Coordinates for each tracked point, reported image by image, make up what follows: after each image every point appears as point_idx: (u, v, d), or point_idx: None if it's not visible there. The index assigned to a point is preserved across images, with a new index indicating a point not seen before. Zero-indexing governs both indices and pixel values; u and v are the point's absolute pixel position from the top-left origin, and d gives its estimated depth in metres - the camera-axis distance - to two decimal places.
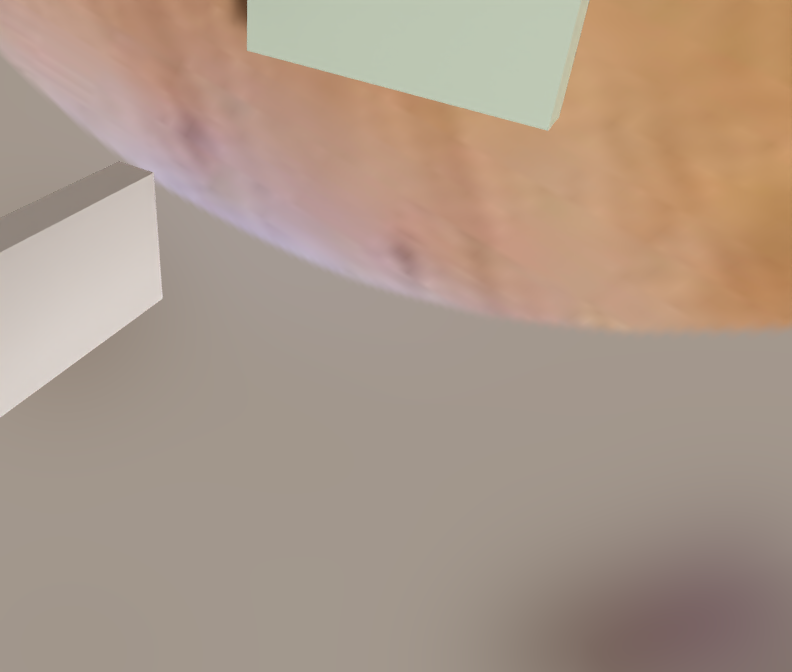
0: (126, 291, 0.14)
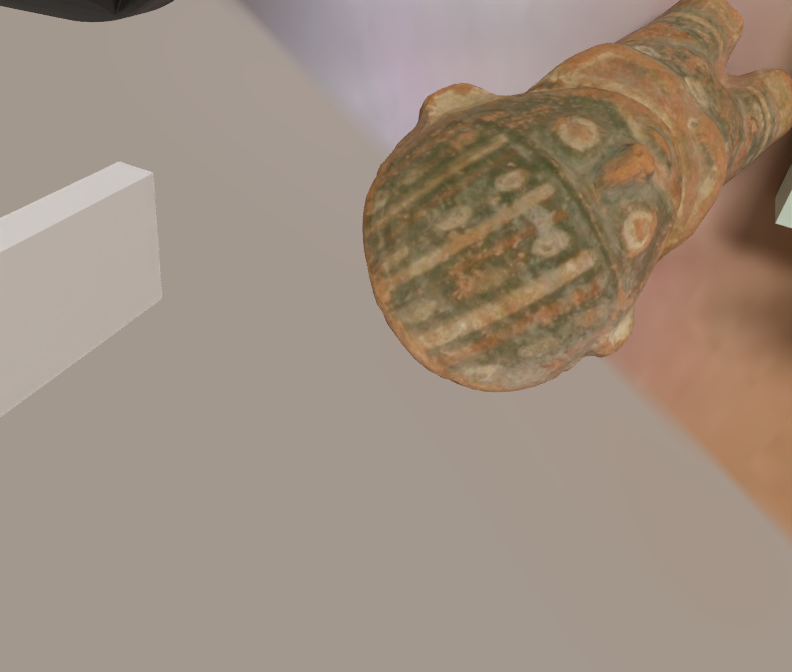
0: (126, 291, 0.14)
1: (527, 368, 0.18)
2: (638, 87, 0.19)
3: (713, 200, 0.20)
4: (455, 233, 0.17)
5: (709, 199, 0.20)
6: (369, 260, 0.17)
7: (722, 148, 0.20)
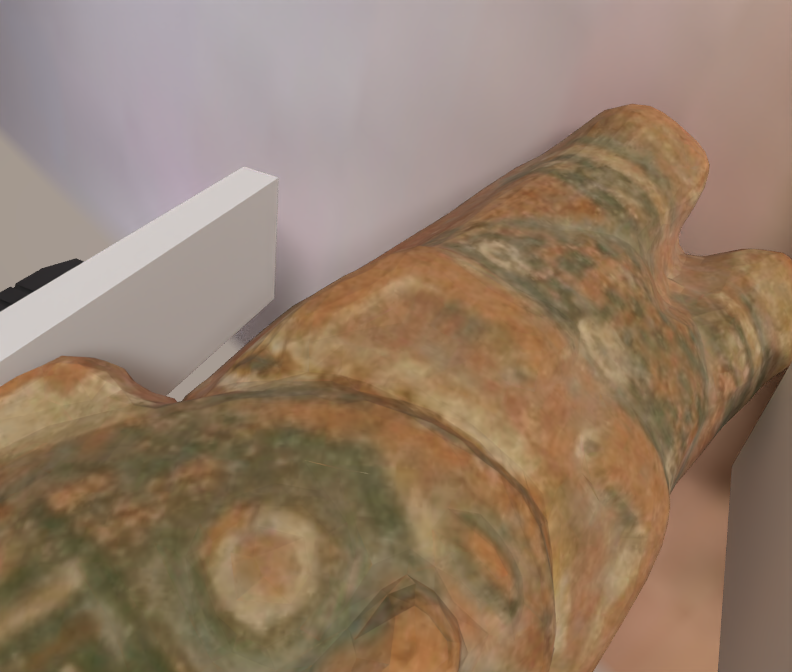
0: (248, 292, 0.14)
1: None
2: (464, 369, 0.09)
3: (639, 590, 0.09)
4: None
5: (630, 595, 0.09)
6: None
7: (656, 483, 0.09)
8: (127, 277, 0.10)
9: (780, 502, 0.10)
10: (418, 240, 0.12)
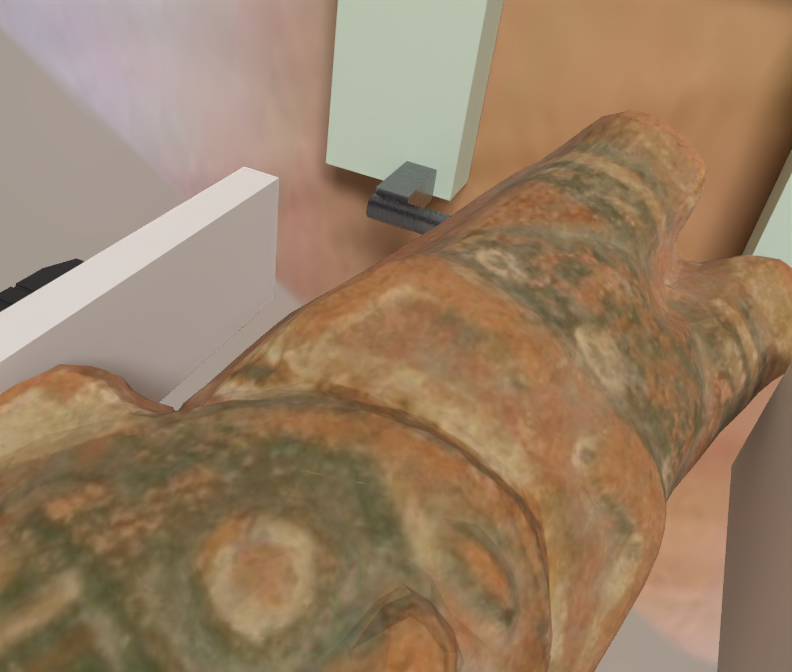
0: (249, 292, 0.14)
1: None
2: (461, 377, 0.09)
3: (636, 597, 0.09)
4: None
5: (627, 602, 0.09)
6: None
7: (652, 491, 0.09)
8: (127, 277, 0.10)
9: (779, 502, 0.10)
10: (416, 247, 0.12)
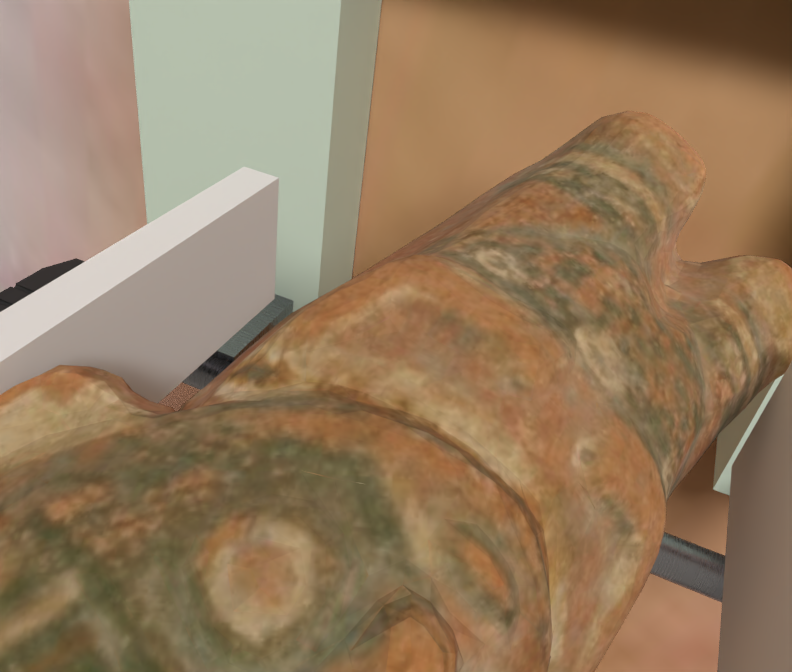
0: (249, 292, 0.14)
1: None
2: (461, 378, 0.09)
3: (636, 598, 0.09)
4: None
5: (627, 603, 0.09)
6: None
7: (652, 492, 0.09)
8: (127, 277, 0.10)
9: (779, 502, 0.10)
10: (416, 247, 0.12)
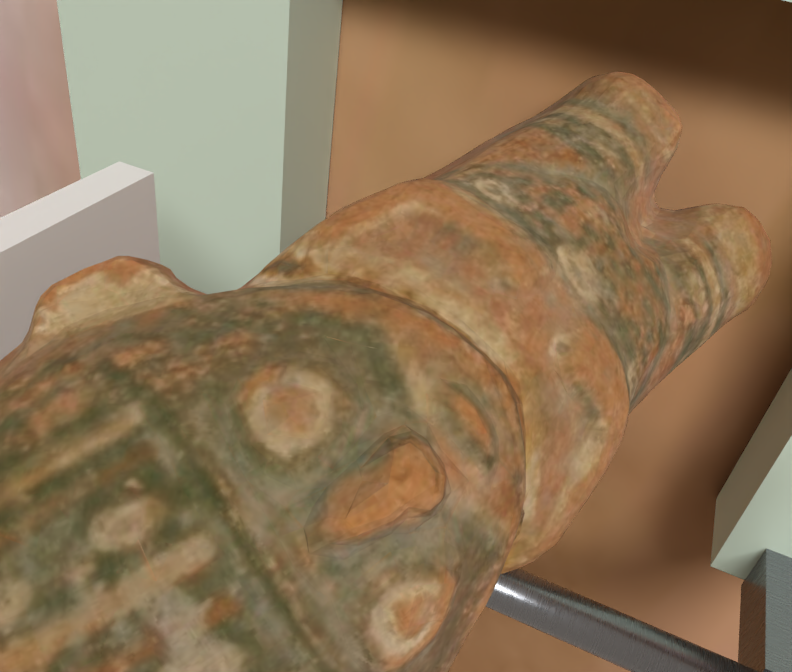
0: None
1: None
2: (458, 277, 0.10)
3: (600, 476, 0.11)
4: None
5: (592, 478, 0.11)
6: None
7: (617, 385, 0.11)
8: None
9: None
10: None
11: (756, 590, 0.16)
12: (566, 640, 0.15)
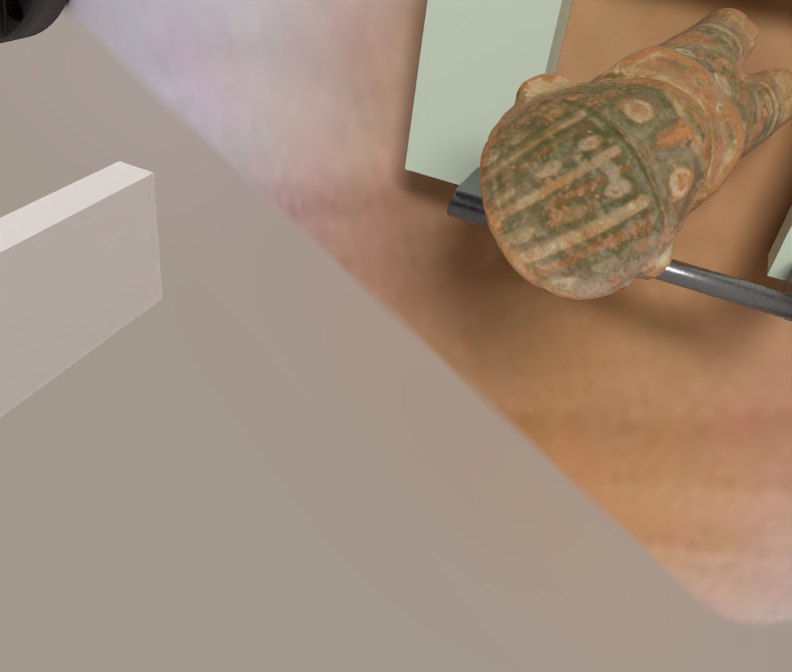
0: (126, 291, 0.14)
1: (596, 280, 0.24)
2: (680, 78, 0.26)
3: (733, 166, 0.27)
4: (550, 179, 0.24)
5: (730, 165, 0.27)
6: (485, 198, 0.24)
7: (741, 126, 0.27)
8: None
9: None
10: None
11: None
12: (699, 287, 0.31)
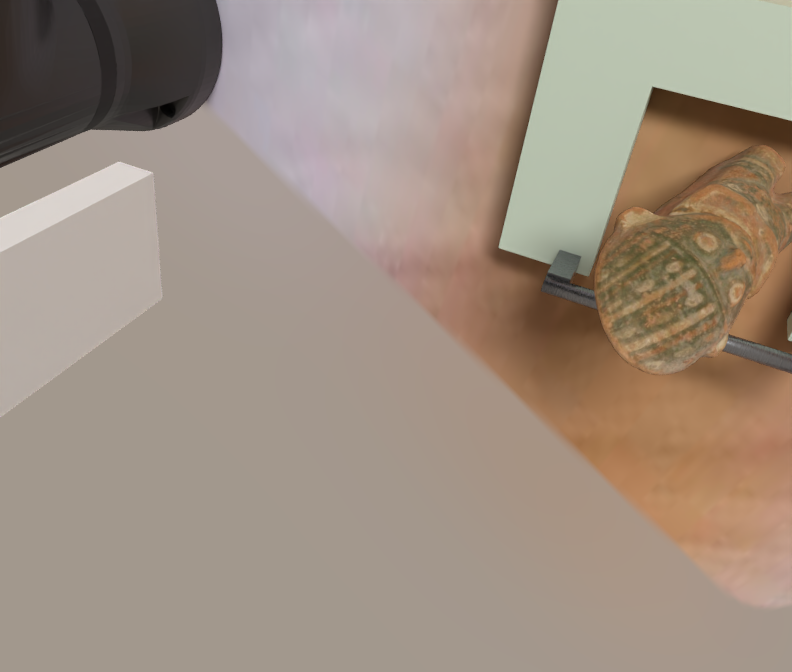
0: (126, 291, 0.14)
1: (676, 362, 0.34)
2: (733, 211, 0.36)
3: (770, 272, 0.37)
4: (646, 294, 0.33)
5: (768, 272, 0.37)
6: (600, 305, 0.34)
7: (775, 244, 0.37)
8: None
9: None
10: (700, 184, 0.39)
11: None
12: (739, 353, 0.41)
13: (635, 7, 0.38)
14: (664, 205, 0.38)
